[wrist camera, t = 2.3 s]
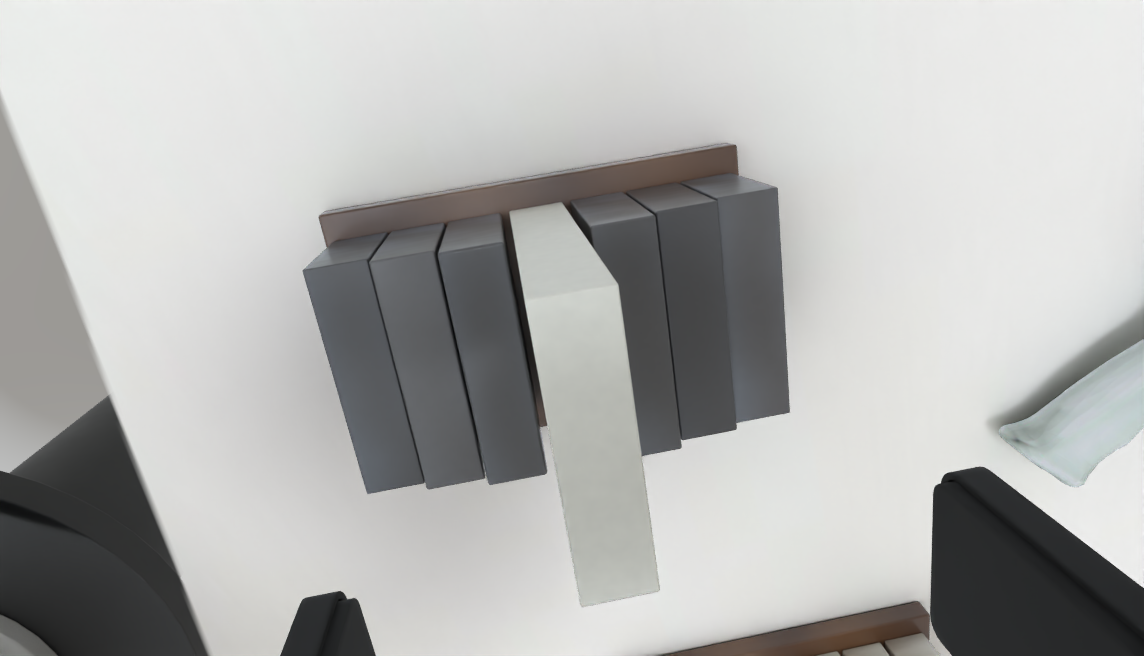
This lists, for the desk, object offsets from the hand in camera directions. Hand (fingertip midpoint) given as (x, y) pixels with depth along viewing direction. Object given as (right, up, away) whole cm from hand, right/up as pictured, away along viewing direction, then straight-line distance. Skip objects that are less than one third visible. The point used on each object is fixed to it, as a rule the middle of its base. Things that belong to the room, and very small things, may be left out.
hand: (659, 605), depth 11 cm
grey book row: (-2, +5, +17) cm, 18 cm away
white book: (-2, +5, +16) cm, 17 cm away
